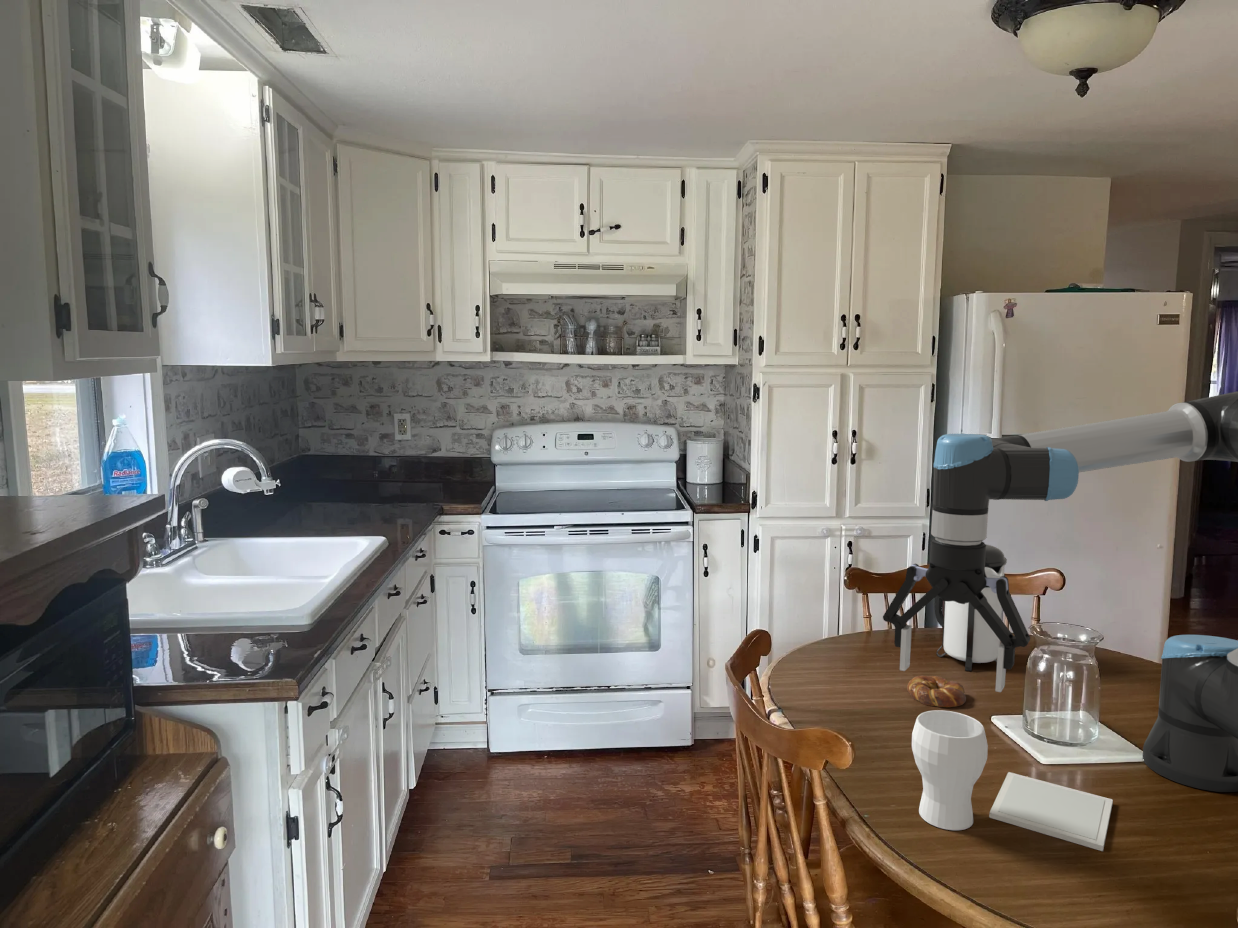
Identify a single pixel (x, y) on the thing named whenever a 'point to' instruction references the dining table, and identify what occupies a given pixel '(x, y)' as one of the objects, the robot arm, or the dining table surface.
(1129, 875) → the dining table surface
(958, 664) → the dining table surface
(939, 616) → the coffee press
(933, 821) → the cup
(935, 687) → the brown braided bread ring
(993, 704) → the dining table surface
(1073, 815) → the coaster
